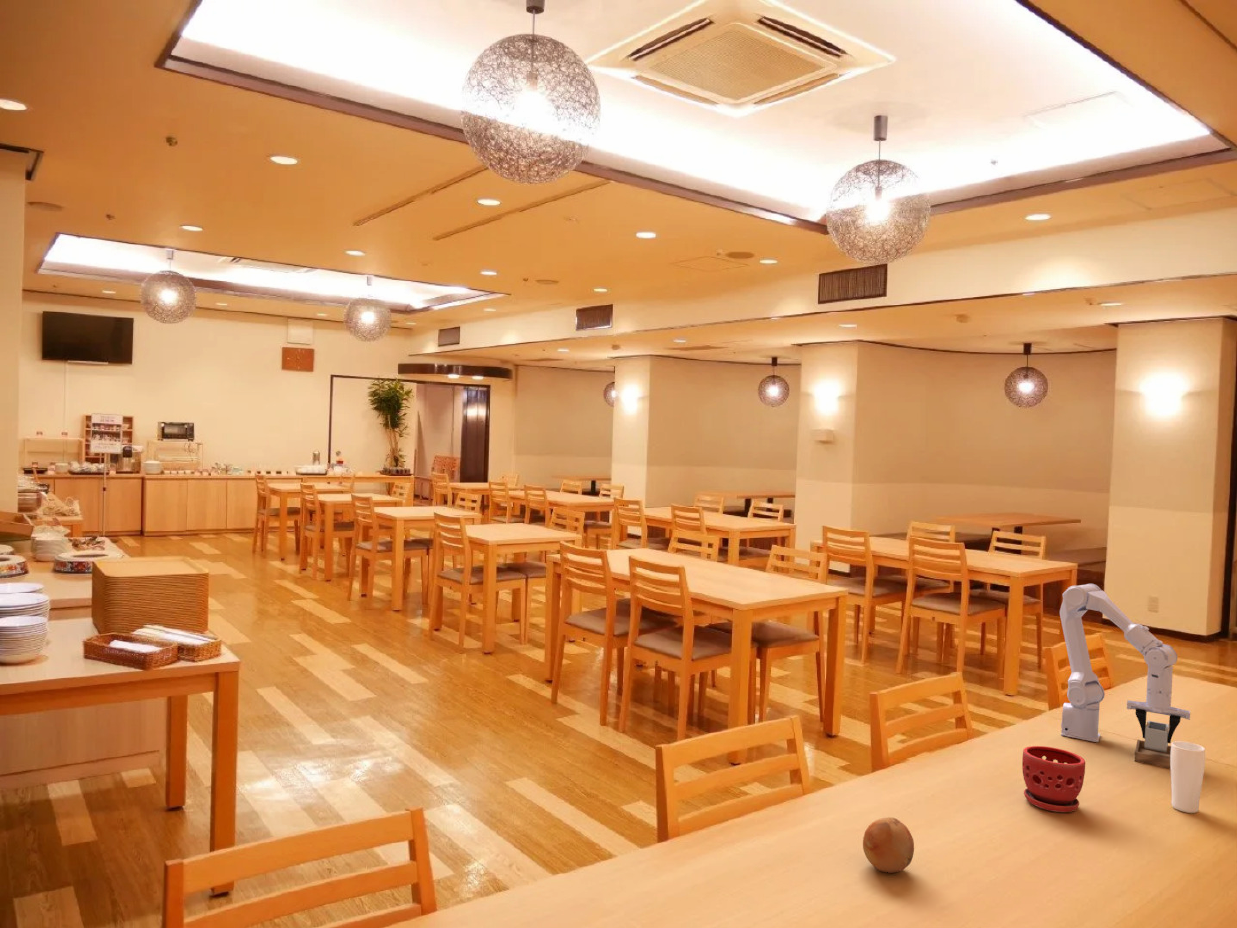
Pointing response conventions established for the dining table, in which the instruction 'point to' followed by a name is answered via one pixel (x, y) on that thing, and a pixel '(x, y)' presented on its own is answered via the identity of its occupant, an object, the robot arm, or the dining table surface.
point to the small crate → (1156, 736)
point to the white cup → (1186, 775)
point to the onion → (888, 845)
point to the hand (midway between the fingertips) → (1156, 739)
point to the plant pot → (1052, 778)
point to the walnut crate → (1152, 755)
